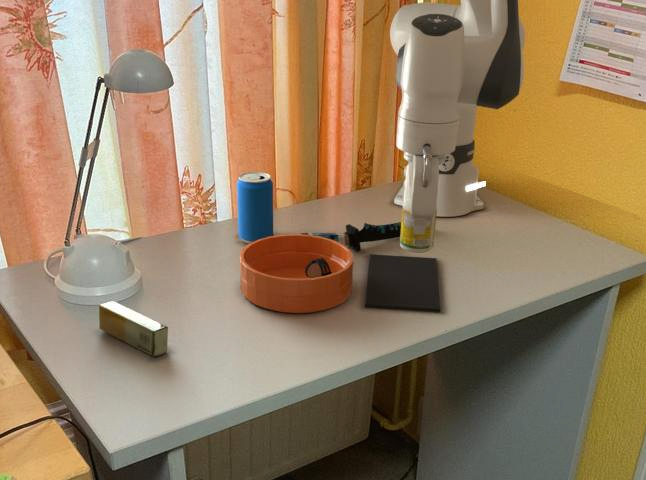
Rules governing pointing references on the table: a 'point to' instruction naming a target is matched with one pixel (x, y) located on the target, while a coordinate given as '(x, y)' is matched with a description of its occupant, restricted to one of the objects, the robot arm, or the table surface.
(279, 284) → the bowl
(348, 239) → the knife
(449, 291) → the table surface
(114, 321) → the medication box
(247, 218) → the beverage can
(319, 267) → the smartwatch
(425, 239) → the supplement bottle
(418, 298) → the mat
